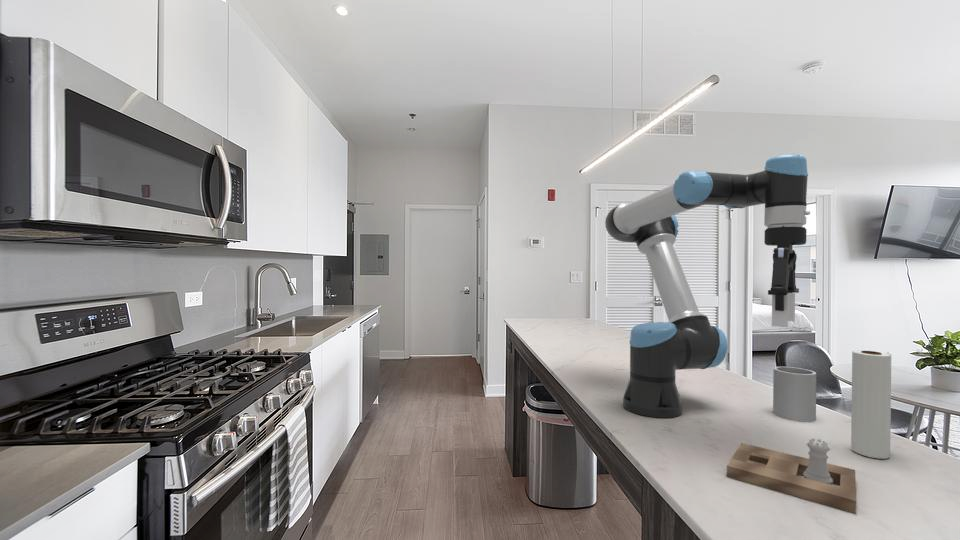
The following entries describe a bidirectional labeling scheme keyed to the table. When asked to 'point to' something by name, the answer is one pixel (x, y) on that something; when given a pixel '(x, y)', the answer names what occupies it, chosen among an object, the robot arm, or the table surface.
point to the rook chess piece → (818, 462)
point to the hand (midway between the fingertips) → (783, 323)
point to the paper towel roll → (871, 403)
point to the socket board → (792, 476)
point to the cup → (794, 394)
